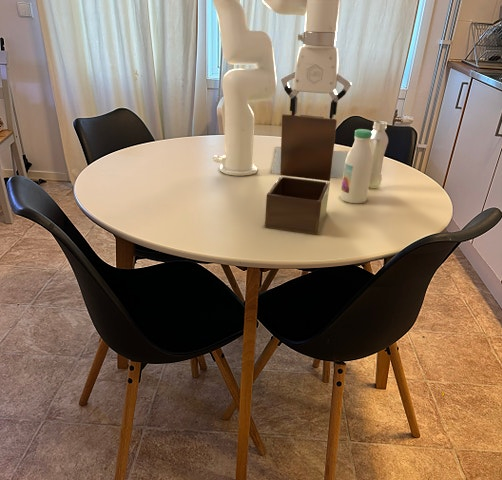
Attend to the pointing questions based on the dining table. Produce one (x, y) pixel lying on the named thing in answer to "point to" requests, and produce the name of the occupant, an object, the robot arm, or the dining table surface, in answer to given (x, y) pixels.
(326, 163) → the tea box lid
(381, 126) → the plastic bottle
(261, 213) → the dining table surface
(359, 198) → the milk bottle
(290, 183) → the tea box
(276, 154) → the architectural model
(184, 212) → the dining table surface
